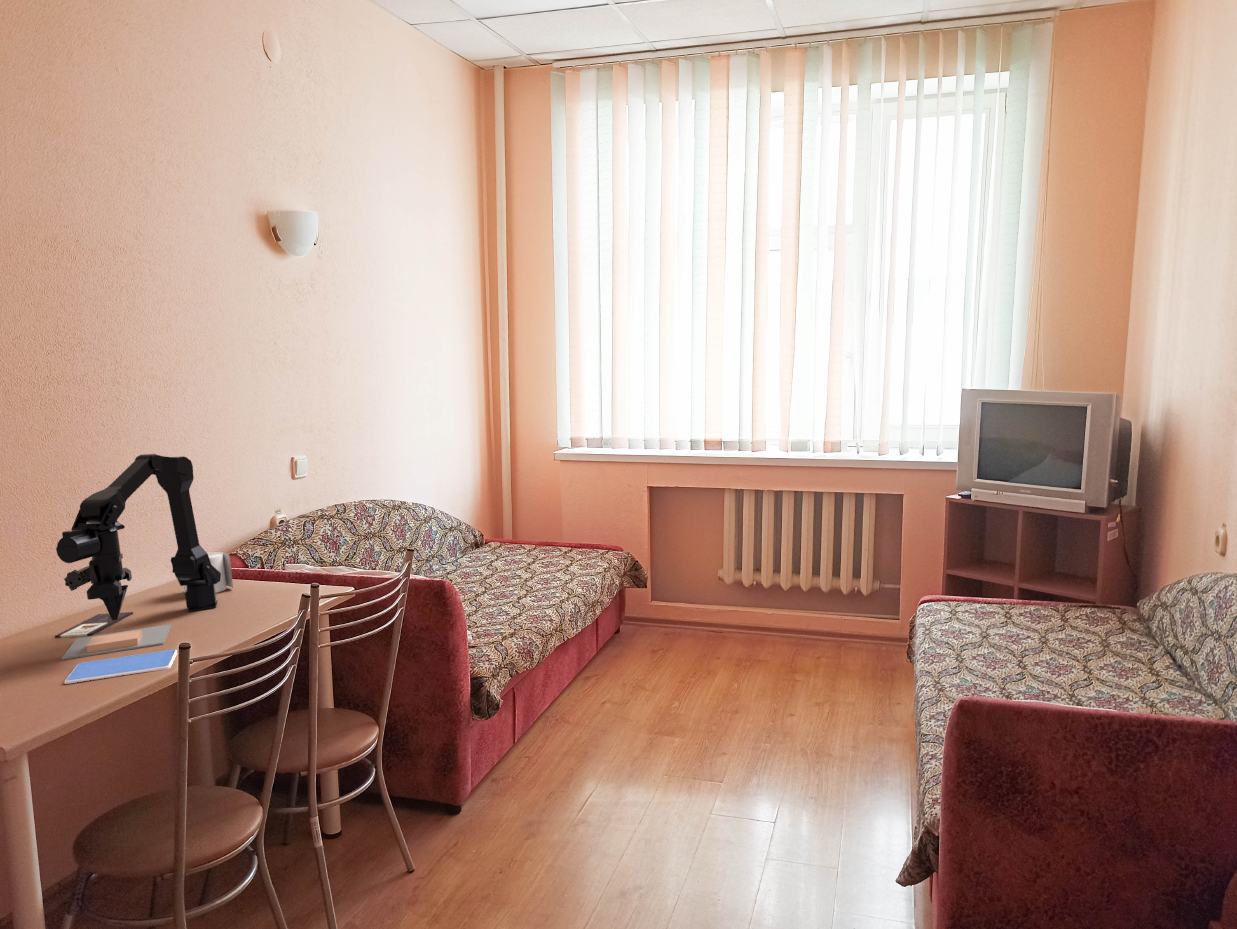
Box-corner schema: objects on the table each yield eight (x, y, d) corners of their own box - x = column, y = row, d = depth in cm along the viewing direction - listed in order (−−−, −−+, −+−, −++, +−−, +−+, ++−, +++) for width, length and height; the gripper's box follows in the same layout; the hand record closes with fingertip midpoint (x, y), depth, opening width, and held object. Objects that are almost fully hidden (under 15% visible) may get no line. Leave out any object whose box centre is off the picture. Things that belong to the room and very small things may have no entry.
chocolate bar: (132, 611, 232) (92, 633, 215) (133, 615, 233) (92, 637, 215) (98, 614, 233) (54, 635, 215) (98, 617, 233) (55, 639, 215)
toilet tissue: (184, 591, 254) (179, 556, 253) (230, 583, 260) (226, 549, 258) (186, 598, 245) (181, 562, 243) (233, 590, 250) (229, 555, 249)
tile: (141, 630, 209) (137, 638, 203) (142, 636, 209) (138, 645, 203) (92, 637, 206) (86, 645, 199) (93, 644, 206) (87, 652, 199)
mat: (171, 625, 218) (171, 624, 218) (163, 644, 203) (163, 642, 203) (76, 640, 212) (76, 638, 212) (61, 660, 197) (61, 658, 197)
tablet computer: (178, 653, 198) (178, 647, 198) (170, 671, 186) (169, 665, 186) (78, 668, 192) (77, 662, 192) (63, 688, 180) (62, 681, 180)
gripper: (73, 550, 210) (83, 615, 212) (55, 565, 193) (65, 636, 194) (127, 543, 214) (136, 608, 216) (114, 558, 196) (123, 628, 198)
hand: (115, 619), depth 206 cm, fingers closed
